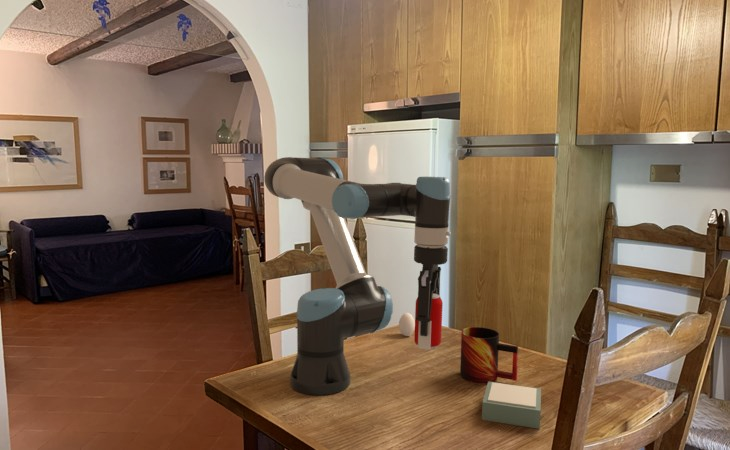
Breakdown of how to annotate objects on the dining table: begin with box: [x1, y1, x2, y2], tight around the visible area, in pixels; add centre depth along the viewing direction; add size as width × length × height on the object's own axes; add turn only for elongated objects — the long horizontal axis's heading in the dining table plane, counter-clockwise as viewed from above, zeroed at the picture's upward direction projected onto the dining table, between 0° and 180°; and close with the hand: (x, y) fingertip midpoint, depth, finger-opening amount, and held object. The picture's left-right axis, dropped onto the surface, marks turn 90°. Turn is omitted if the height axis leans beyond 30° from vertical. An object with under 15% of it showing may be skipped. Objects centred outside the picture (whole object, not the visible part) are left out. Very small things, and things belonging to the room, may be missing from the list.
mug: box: [459, 326, 519, 385], centre depth 139 cm, size 10×14×12 cm
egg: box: [398, 312, 415, 337], centre depth 173 cm, size 5×5×8 cm
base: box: [481, 381, 542, 430], centre depth 119 cm, size 12×12×4 cm
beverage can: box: [414, 293, 443, 350], centre depth 122 cm, size 6×6×12 cm
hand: (427, 343), depth 122 cm, fingers closed on beverage can, 6 cm apart
